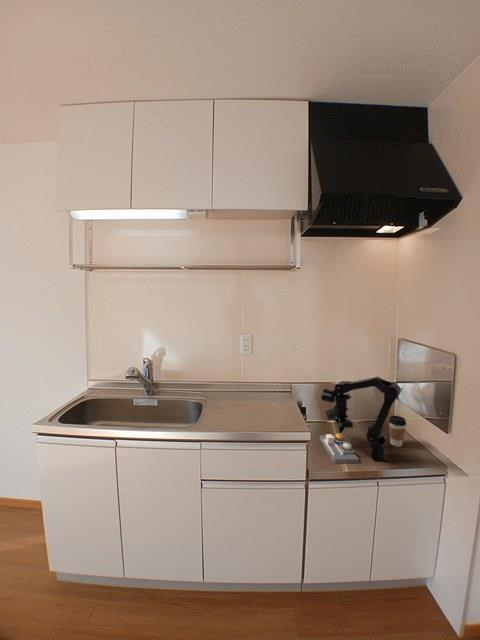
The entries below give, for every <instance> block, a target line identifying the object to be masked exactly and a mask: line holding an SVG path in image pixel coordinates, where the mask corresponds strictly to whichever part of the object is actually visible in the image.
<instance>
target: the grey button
mask: <svg viewBox="0 0 480 640" xmlns="http://www.w3.org/2000/svg"><path fill="white" fill-rule="evenodd" d="M351 447H352V443H350V442H348V441H347V442H345V443H343V449H345V450H351Z"/></svg>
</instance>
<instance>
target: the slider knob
mask: <svg viewBox="0 0 480 640" xmlns="http://www.w3.org/2000/svg"><path fill="white" fill-rule="evenodd" d="M325 435H326V442H327V443H328V444H334V437H333V436H332V433H328V434H325Z"/></svg>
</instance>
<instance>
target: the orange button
mask: <svg viewBox="0 0 480 640" xmlns="http://www.w3.org/2000/svg"><path fill="white" fill-rule="evenodd" d="M335 435H336V439H337V440H344V438H345V435H344V434H343V433H339V432H338V433H336V434H335Z"/></svg>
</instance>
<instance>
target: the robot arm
mask: <svg viewBox="0 0 480 640" xmlns="http://www.w3.org/2000/svg"><path fill="white" fill-rule="evenodd" d="M371 387H375V388H376V389H377V390H379V391H380V392H381V393H382V394H384V395H383V403H382V405H381V408H380V411H379V413H378V416H377V417H376V419H375V420H376V421H375V422H374V424H373V423H371V424H370V425H369V427H368V429H367V432H366V433H365V435H366V440H367V442H368V443H369V447H370V448H371V452H368V456H369V457H370V458H371V459H372V460H373V462H387V461H388V459H387V458H386V457H385V445H386V443H387V440H386V438H385V437H384V436H383V435H384V433H383V432H384V426H385V423H386V421H387V419H388V416H389V415H390V414H389V413H390V412H391V409H392V406H393V405H394V404H395V401H396V400H397V399H398V397H399V396H400V395H401V393H402V389H401V386H399V384H396V383H392V382H390V381H388V380H386V379H383V378H382V377H379V376H374V377H370V378H366V379H359V380H354V381H349V380H345V381H344V380H342V381H340V382H338V383H336V384H335V385H334V389H333V390H331V389H327V388H324V389H323V392H322V394H321V396H320V398H321V401H322V402H325V403H329V404H333V403H335V405H333V408H330V409H327V410H325V411H324V415H325V417H326V419H327V420H328V421H331V420H334V421H335V423H336V424H337V425H336V426H337V430H338V433H341V434H343V431H344V429H346V428H351V429H352V428H354V423H353V422H352V420H351V419H350V418H349V415H347V413H348V412H347V411H349V408H348V400H350V399H352V396H351V395H350V393H349V392H351V391H354V390H358V389H366V388H371Z"/></svg>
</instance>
